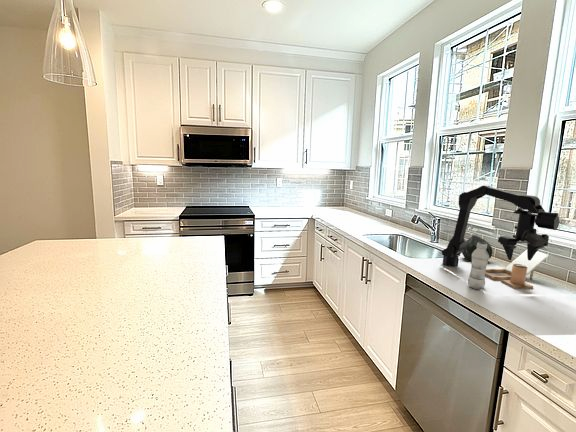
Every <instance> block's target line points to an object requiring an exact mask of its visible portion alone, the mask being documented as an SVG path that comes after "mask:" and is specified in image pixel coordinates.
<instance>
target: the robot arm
mask: <svg viewBox="0 0 576 432" xmlns="http://www.w3.org/2000/svg"><path fill="white" fill-rule="evenodd" d="M484 196H489V197H492V198H496V199H499V200H502V201H506V202H509V203H511V204H513V205H514V206H516V207H518V208H517V209H516V210H515V211H513V213H514V214H517V215H518V218H517V224H516V225H515V226H514V229H515V230H516V231H515V234H514V235H512V237H511V236H506V235H500V236H499V237H498V239H497V242H498V243H499V244H500V245H501V246H502V247H503V250H504V251H505V254H506V256H507V260H508V261H512V258H513V256H514V255H513V254H514V249H516V248H517V246H516V245H517V244H526V245H527V247H526V250H527V257H528V260H531V259H532V258H533V256H534V255H535V253H536V252H537V251H538V252H539V250H541V249H543V248H545V247H548V246H549V240H550V239H549V238H550V236H549V235H548V234H545V233H542V234H539V233H537V229H536V228H535V226H536V227H537V228H541V229H545V230H546V229H547V230H551V231H552V230H553V231H556V230H558V228H559V227H560V222H561V221H560V213H559V212H549V211H548V212H547V211H545V209H544V208H543V206H542V205H541V199H540V198H539V197H538V196H536V195H528V194H518V193H514V192H510V191H506V190H503V189H500V188H496V187H493V186H490V185H481V186H479V187H478V188H475V189H471V190H469V191H463V192H461V193H460V194H459V195H458V206H459V211H458V216H457V220H456V224H455V228H454V232H453V236H452V237H451V239H450V240H448V243H447V246H446V248H444V249H442V250H441V255H442V256H443V257H442V265H443V266H444V267H445V266H446V267H452V268H455V267H458V266H459V261H460V259H459V256H460V255H461V254H462V252H464V250H465V249H466V245H467V243H468V242H466V241H465V234H466V232H467V227H468V223H469V219H470V215H471V211H472V209H474V207H475V205H476V203H477V201H478V200H479V199H481V198H484Z"/></svg>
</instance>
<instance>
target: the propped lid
mask: <svg viewBox="0 0 576 432" xmlns="http://www.w3.org/2000/svg"><path fill="white" fill-rule="evenodd" d="M548 257H550V255H549V254H548V253H544V252H542V251H539V250H538V251H537V252H536V253H535V255H534V256H533V258H532V259H531V260H528V257H527V249H526V250H525V251H523V252H522V253H521V254H520V255H519V256H517V257H516V258H515V259H514V260H513V261H512V262H510V263H509V264H508V265H507V266H506V267H505V268H504V269H506V270H509V271H511V272H512V266H513V264H521V265H525V266H527V267H528V268H527V273H526V276H528V275H529V280H533V279H534V278H533V277H534V273H535V272H534V271H535V269H536V268H537V267H538V266H539V265H541V263H543V262H544V261H545V260H546V259H547V258H548Z"/></svg>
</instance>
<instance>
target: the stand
mask: <svg viewBox="0 0 576 432" xmlns="http://www.w3.org/2000/svg"><path fill="white" fill-rule="evenodd" d="M500 283H502V284H504V285H506V286H508V287H509V288H511V289H516V290H517V289H518V290H519V289H521V290H522V289H524V290H525V289H528V290H529V289H531V290H532V289H534V286H533V285H532V284H530V283H527V282H525V284H524V285H516V284H513V283H511V282H510V280H500Z"/></svg>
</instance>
